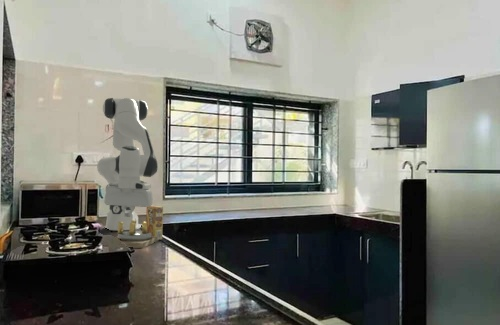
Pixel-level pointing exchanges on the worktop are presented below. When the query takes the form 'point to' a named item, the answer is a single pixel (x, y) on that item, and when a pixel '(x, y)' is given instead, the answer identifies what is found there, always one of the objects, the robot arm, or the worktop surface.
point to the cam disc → (133, 232)
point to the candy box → (154, 220)
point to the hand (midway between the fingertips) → (127, 216)
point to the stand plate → (141, 242)
